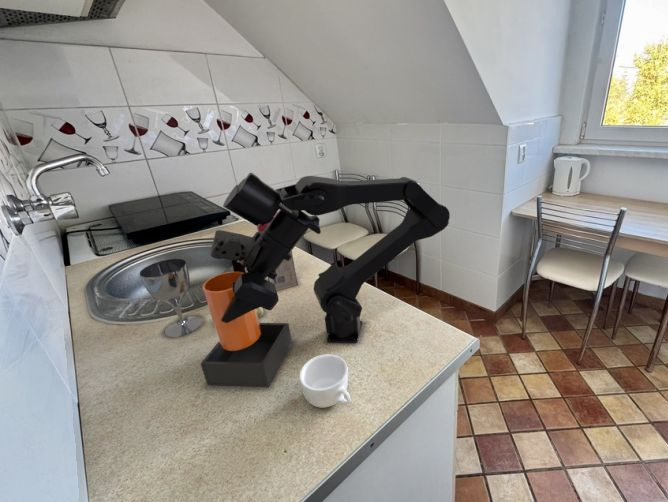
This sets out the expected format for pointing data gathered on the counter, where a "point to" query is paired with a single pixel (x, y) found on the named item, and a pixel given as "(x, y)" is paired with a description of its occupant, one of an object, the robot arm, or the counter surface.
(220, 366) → the basket
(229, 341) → the orange cup
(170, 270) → the wine glass
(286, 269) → the juice carton
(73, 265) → the counter surface
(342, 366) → the teacup
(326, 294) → the robot arm
